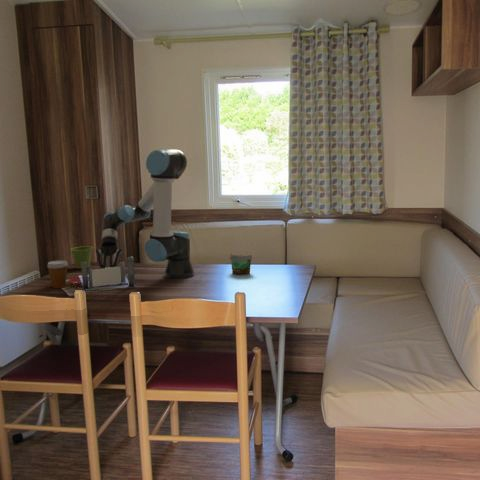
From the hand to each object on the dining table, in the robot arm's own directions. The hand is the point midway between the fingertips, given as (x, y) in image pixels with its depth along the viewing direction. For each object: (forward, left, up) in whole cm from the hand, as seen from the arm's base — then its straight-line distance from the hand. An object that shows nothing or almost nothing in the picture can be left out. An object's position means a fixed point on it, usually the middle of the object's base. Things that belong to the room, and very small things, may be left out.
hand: (107, 279), depth 253 cm
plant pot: (+26, -37, -3) cm, 46 cm away
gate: (-1, +2, -2) cm, 3 cm away
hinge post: (+8, +8, -3) cm, 11 cm away
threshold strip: (-3, +6, -3) cm, 7 cm away
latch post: (-13, +4, -3) cm, 14 cm away
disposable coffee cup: (+23, +3, -3) cm, 23 cm away
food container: (-63, -22, -3) cm, 67 cm away
